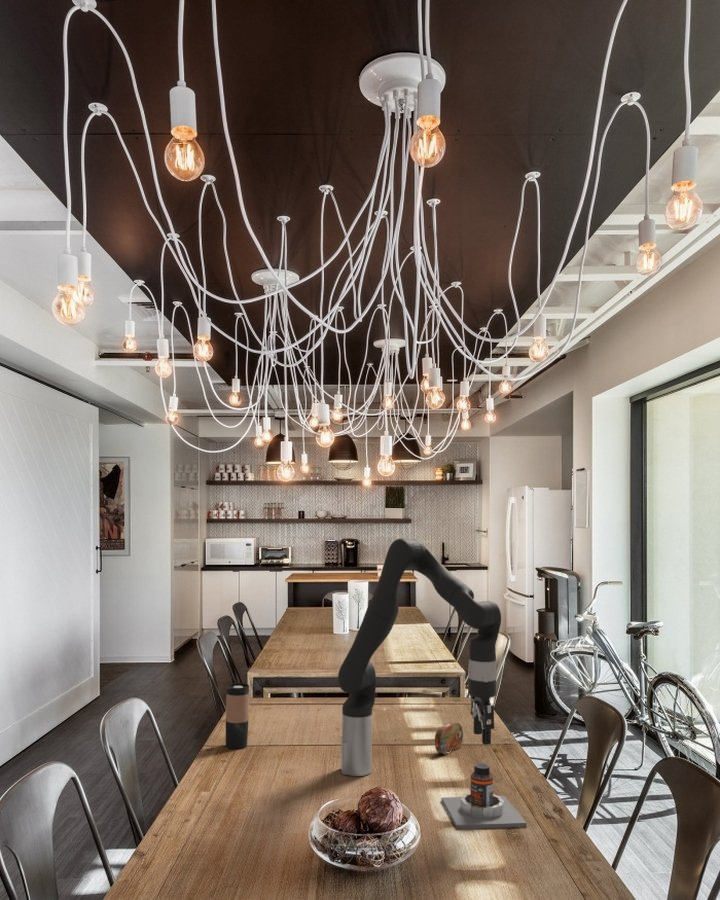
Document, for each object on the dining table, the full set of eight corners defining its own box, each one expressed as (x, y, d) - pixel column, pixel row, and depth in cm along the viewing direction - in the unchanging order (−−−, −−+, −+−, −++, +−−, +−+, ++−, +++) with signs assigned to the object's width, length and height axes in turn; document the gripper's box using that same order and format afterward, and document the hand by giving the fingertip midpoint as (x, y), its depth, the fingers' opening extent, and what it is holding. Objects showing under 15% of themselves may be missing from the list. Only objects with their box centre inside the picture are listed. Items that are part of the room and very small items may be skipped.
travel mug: (250, 743, 249) (251, 683, 251) (244, 750, 242) (246, 688, 244) (228, 742, 250) (230, 682, 252) (222, 749, 243) (223, 687, 244)
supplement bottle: (466, 809, 192) (466, 765, 193) (477, 803, 197) (477, 759, 198) (486, 816, 189) (486, 770, 190) (497, 809, 193) (497, 765, 194)
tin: (441, 757, 238) (441, 730, 238) (432, 755, 239) (433, 728, 240) (463, 746, 250) (463, 720, 250) (455, 744, 251) (455, 719, 252)
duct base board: (457, 829, 183) (457, 825, 183) (441, 801, 201) (441, 797, 201) (526, 826, 185) (526, 822, 185) (504, 799, 203) (504, 795, 203)
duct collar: (467, 818, 187) (467, 808, 187) (456, 802, 198) (456, 792, 198) (508, 817, 188) (508, 807, 188) (496, 801, 199) (496, 791, 199)
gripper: (462, 671, 202) (461, 731, 201) (475, 683, 188) (475, 747, 187) (488, 671, 203) (488, 730, 202) (503, 682, 189) (503, 747, 188)
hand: (481, 738), depth 194 cm, fingers open, 8 cm apart
